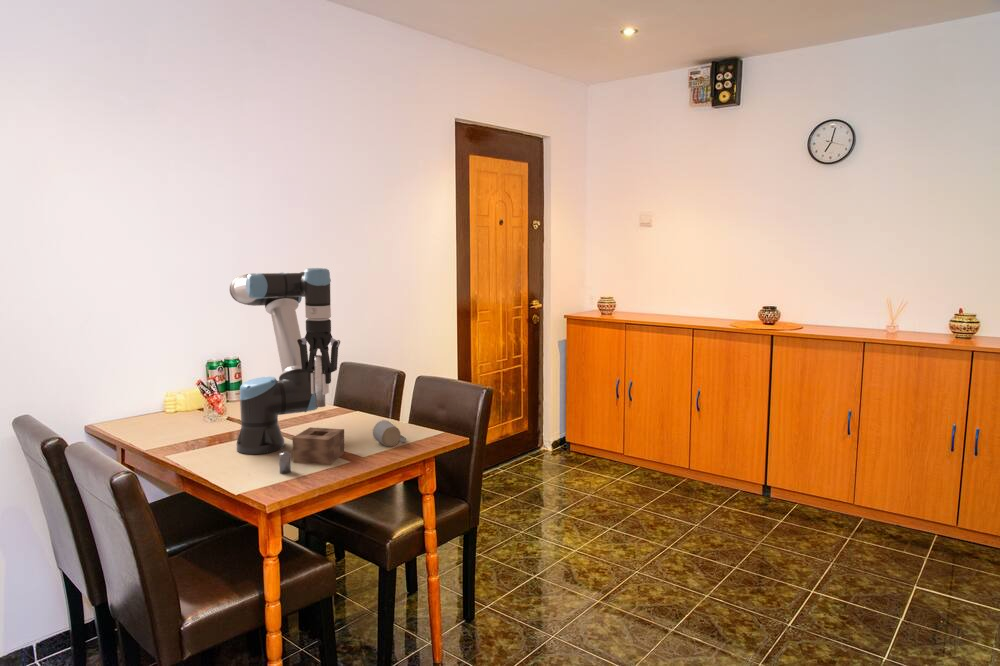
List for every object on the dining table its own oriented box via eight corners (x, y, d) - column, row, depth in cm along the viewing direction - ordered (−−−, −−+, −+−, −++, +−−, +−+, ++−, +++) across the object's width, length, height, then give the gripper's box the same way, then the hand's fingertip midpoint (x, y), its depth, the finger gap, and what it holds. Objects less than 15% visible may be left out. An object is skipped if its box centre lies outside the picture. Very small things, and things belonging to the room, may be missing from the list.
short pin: (277, 473, 200) (276, 454, 199) (283, 470, 203) (282, 451, 203) (287, 474, 200) (286, 455, 199) (292, 470, 203) (292, 451, 202)
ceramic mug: (382, 449, 225) (382, 426, 224) (372, 443, 231) (372, 421, 230) (410, 444, 231) (411, 422, 230) (400, 438, 237) (400, 417, 236)
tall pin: (313, 406, 209) (311, 356, 206) (317, 404, 212) (316, 354, 209) (322, 407, 208) (321, 357, 206) (327, 404, 211) (326, 355, 209)
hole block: (293, 462, 211) (292, 437, 210) (310, 450, 222) (309, 427, 221) (329, 464, 209) (328, 439, 208) (344, 452, 220) (344, 429, 219)
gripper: (287, 319, 203) (290, 394, 207) (338, 321, 200) (339, 397, 204) (299, 316, 211) (301, 388, 214) (348, 318, 208) (349, 392, 211)
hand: (319, 393), depth 209 cm, fingers closed on tall pin, 3 cm apart
